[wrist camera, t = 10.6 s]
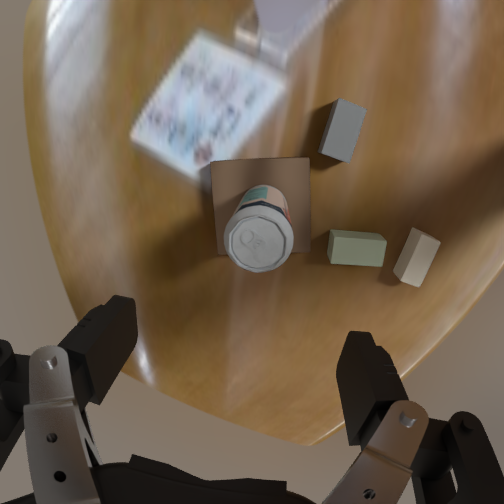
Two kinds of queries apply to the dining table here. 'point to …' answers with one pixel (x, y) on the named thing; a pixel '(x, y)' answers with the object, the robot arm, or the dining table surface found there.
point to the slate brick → (342, 130)
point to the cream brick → (416, 257)
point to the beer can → (260, 230)
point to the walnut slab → (263, 173)
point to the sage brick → (356, 248)
